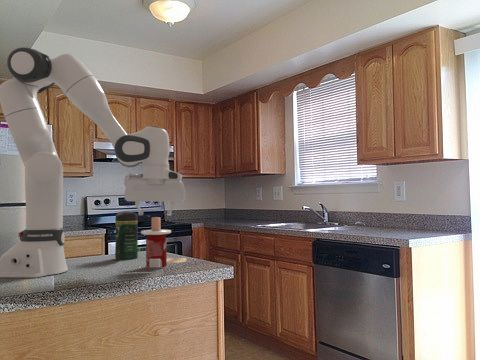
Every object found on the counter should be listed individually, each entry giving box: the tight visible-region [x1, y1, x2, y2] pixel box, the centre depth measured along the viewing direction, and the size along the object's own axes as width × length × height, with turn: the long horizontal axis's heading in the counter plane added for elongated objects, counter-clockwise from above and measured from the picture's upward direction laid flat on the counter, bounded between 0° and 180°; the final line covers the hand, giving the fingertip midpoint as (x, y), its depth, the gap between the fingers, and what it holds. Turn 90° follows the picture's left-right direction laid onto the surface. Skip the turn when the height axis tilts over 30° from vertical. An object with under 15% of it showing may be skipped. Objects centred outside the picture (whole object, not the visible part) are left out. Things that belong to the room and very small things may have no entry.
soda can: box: [145, 234, 168, 270], centre depth 144 cm, size 7×7×12 cm
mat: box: [167, 257, 187, 264], centre depth 157 cm, size 10×10×1 cm
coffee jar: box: [114, 210, 139, 261], centre depth 165 cm, size 10×8×19 cm
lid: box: [140, 216, 172, 236], centre depth 144 cm, size 10×10×5 cm
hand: (155, 215), depth 144 cm, fingers open, 8 cm apart
